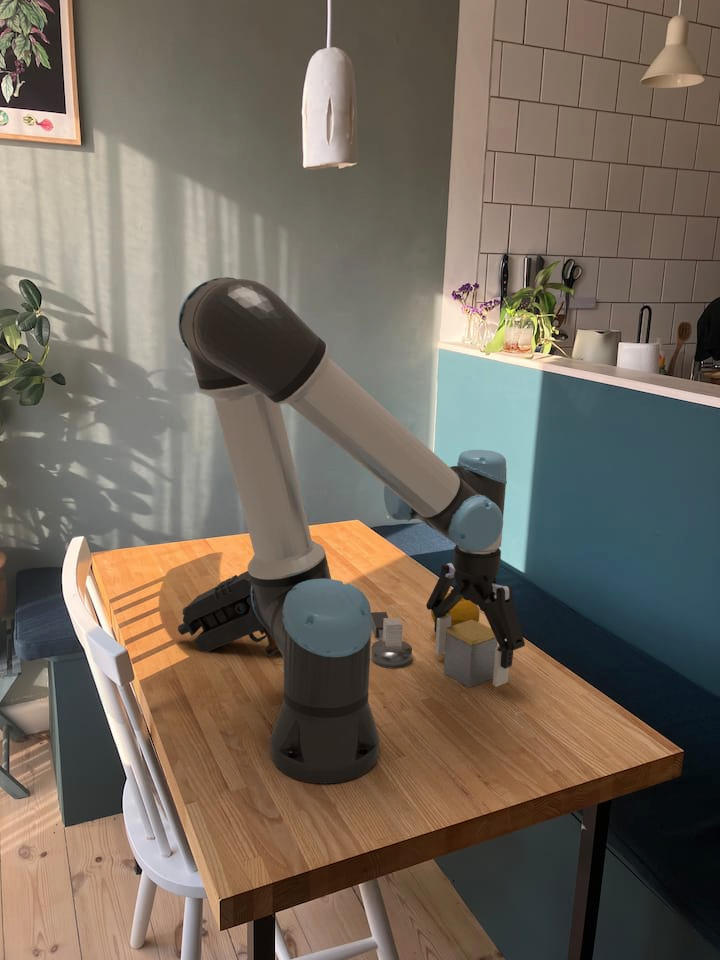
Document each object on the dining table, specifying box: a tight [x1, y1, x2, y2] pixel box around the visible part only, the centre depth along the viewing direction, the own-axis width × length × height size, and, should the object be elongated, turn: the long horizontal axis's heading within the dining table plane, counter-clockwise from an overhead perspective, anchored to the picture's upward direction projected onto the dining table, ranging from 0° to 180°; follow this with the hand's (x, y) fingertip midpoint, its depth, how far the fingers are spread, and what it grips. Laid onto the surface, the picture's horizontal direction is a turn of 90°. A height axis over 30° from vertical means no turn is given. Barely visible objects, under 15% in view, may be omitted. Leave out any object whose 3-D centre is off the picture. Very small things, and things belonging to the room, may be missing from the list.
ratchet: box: [370, 611, 413, 669], centre depth 145 cm, size 19×7×7 cm, turn 7°
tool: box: [177, 570, 280, 657], centre depth 141 cm, size 6×19×15 cm, turn 78°
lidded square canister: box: [443, 620, 498, 689], centre depth 134 cm, size 6×6×8 cm
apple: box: [430, 592, 480, 626], centre depth 147 cm, size 9×9×9 cm
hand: (470, 667), depth 135 cm, fingers open, 13 cm apart
